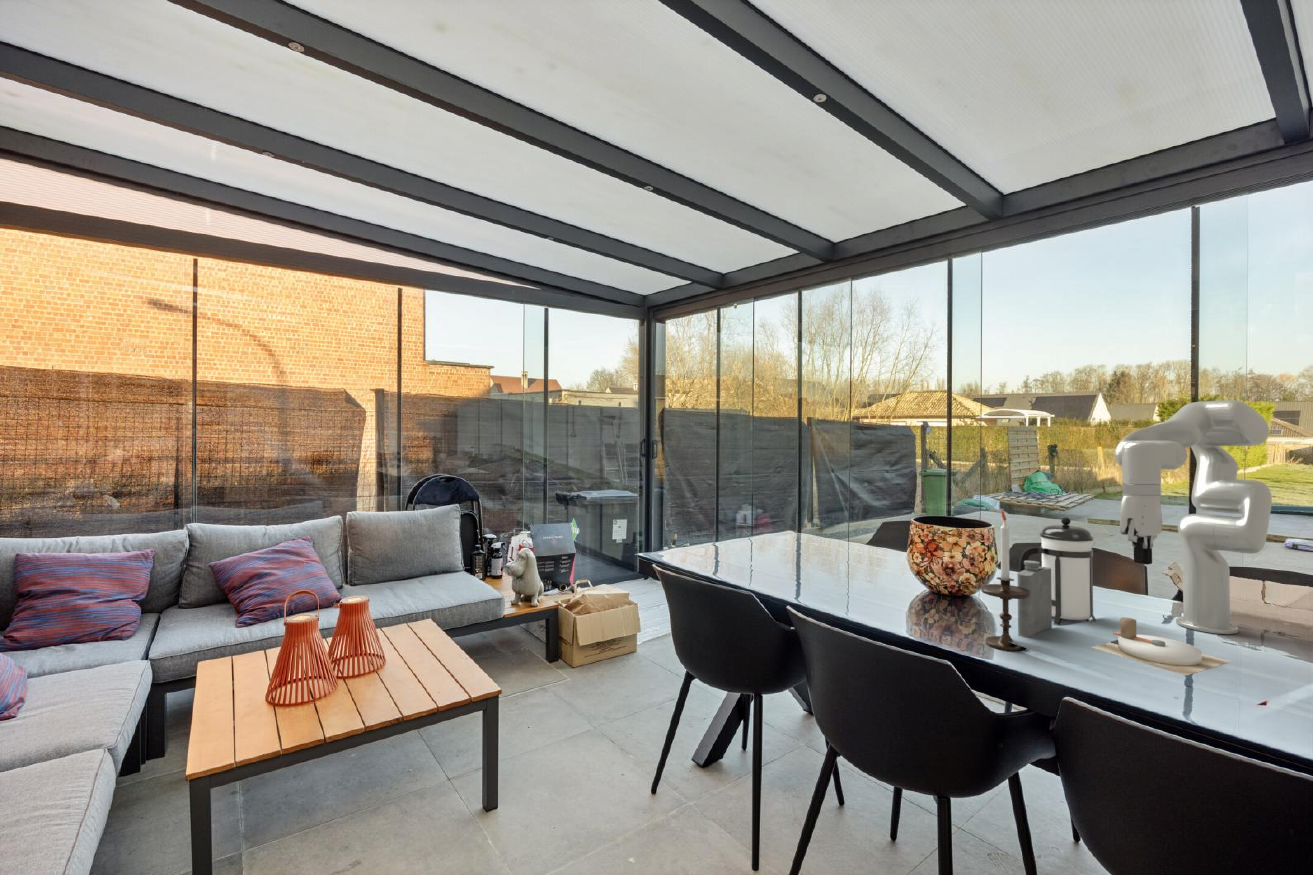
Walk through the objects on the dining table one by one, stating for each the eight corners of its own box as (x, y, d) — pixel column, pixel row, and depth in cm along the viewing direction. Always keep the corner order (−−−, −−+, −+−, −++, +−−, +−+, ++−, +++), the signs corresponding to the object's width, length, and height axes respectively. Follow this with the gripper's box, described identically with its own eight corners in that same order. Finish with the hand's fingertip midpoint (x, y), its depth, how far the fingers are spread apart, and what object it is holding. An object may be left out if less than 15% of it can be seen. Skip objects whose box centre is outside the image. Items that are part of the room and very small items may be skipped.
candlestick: (988, 650, 145) (987, 510, 145) (976, 636, 156) (975, 506, 156) (1037, 654, 142) (1036, 512, 143) (1022, 640, 153) (1021, 507, 153)
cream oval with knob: (1213, 657, 135) (1213, 629, 135) (1184, 669, 128) (1184, 640, 128) (1129, 637, 150) (1129, 611, 150) (1099, 646, 143) (1098, 620, 143)
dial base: (1135, 642, 151) (1135, 635, 151) (1231, 667, 133) (1231, 660, 133) (1091, 653, 143) (1090, 646, 143) (1186, 682, 126) (1186, 673, 126)
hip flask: (1029, 643, 150) (1028, 566, 150) (1012, 639, 153) (1011, 563, 154) (1053, 631, 160) (1052, 558, 160) (1037, 627, 163) (1036, 556, 163)
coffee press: (1048, 608, 181) (1046, 512, 181) (1108, 622, 167) (1107, 518, 167) (1018, 617, 172) (1017, 516, 172) (1079, 632, 158) (1078, 522, 158)
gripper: (1141, 488, 153) (1142, 557, 153) (1107, 491, 147) (1108, 563, 147) (1176, 490, 146) (1177, 563, 146) (1142, 493, 140) (1143, 569, 140)
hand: (1143, 563), depth 146 cm, fingers closed
